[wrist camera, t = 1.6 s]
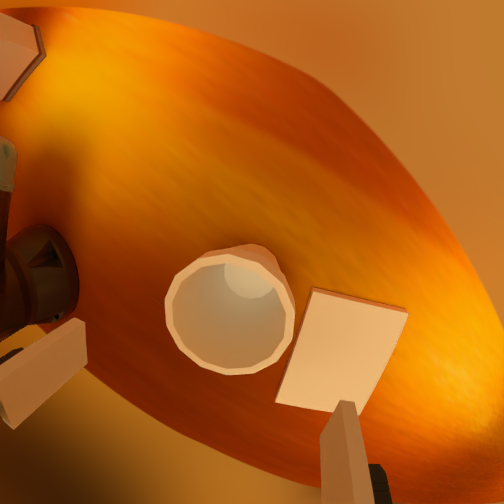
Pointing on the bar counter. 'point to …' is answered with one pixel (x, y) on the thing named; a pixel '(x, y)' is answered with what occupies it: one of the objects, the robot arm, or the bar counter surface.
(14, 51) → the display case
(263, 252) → the foam cup
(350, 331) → the tile
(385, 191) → the bar counter surface
